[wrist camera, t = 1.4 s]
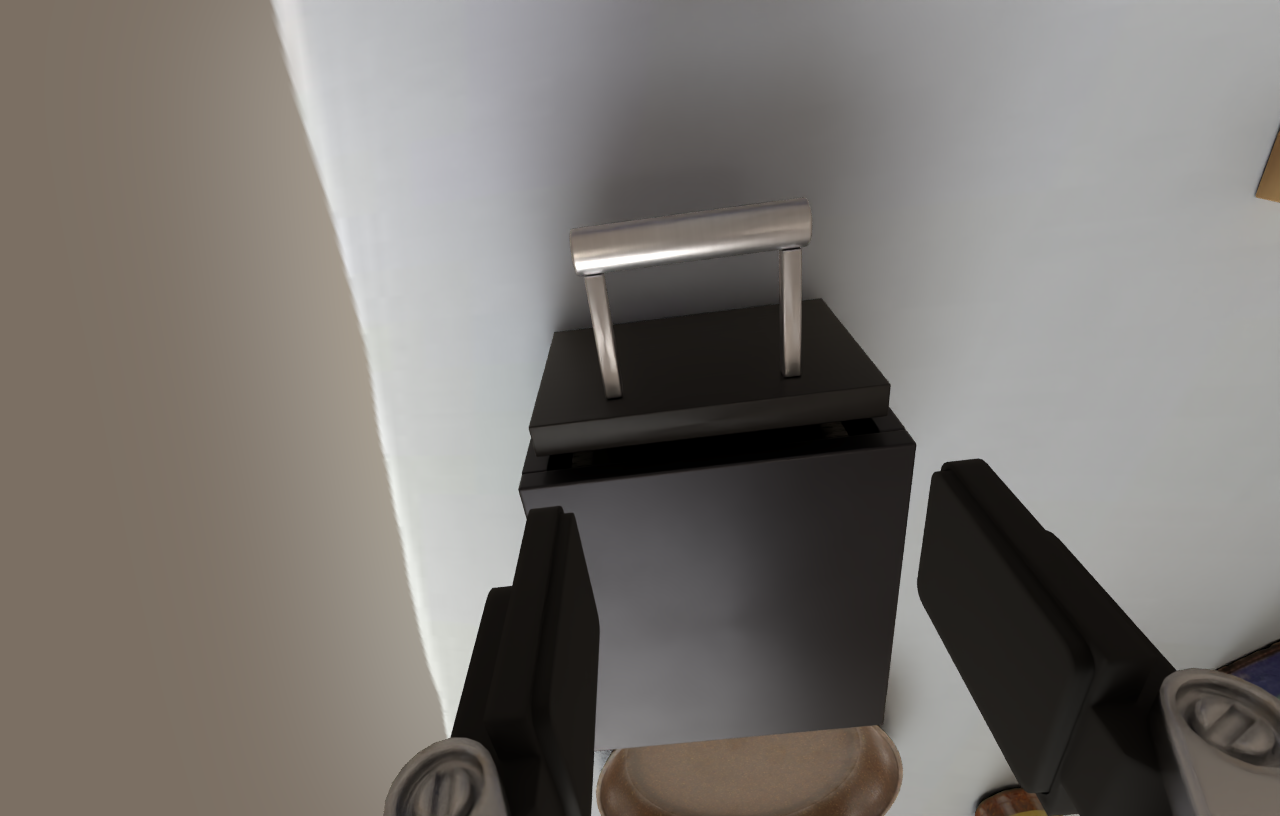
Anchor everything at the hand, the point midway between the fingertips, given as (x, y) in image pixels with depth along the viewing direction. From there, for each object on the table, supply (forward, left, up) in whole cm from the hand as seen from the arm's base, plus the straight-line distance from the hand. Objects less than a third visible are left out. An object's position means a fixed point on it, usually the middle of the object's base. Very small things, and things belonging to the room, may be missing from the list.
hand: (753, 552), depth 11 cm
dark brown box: (+11, 0, -18) cm, 21 cm away
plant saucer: (+36, +1, -18) cm, 40 cm away
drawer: (+6, 0, -17) cm, 18 cm away
